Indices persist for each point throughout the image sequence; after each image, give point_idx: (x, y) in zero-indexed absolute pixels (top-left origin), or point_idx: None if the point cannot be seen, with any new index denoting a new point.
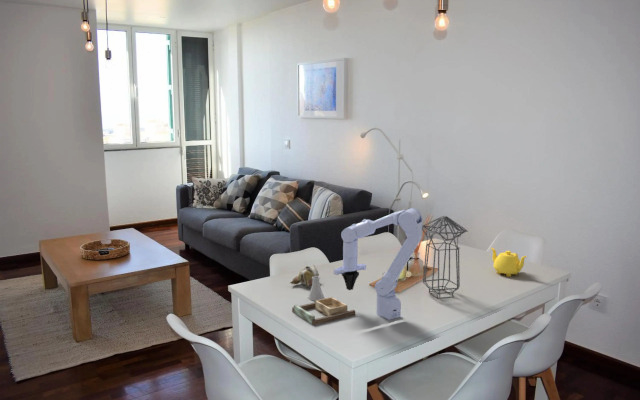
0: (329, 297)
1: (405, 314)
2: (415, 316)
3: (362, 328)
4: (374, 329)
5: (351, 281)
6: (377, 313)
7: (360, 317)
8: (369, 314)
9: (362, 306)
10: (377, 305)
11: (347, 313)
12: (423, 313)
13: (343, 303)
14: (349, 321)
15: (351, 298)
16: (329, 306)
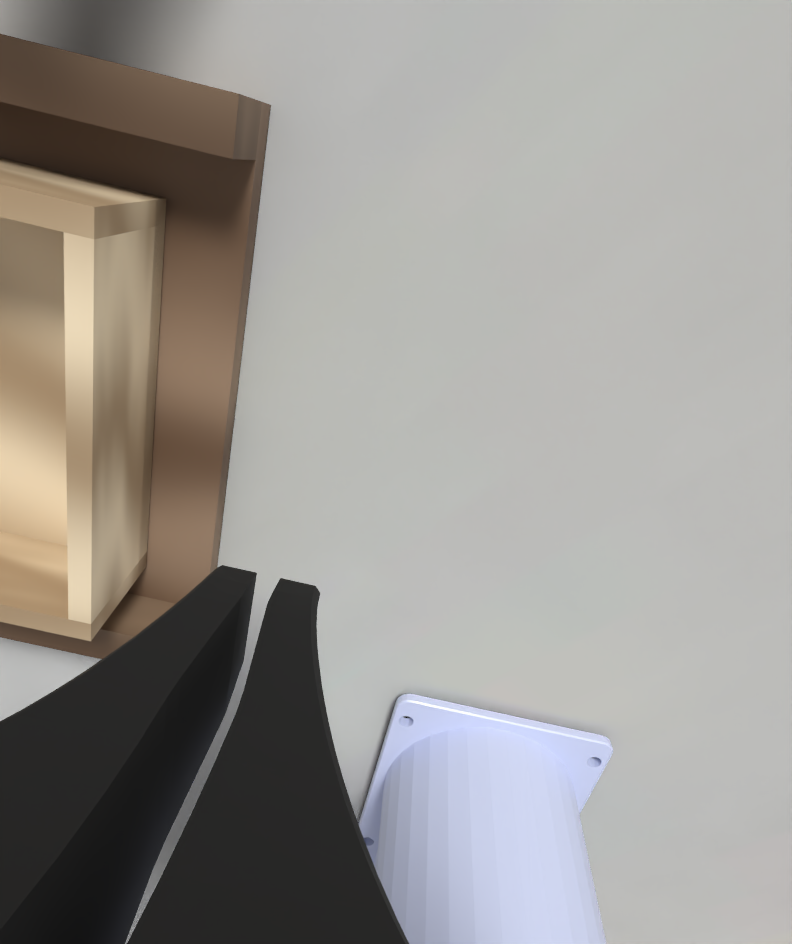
0: (36, 193)
1: (631, 868)
2: (642, 925)
3: None
4: (163, 847)
5: (136, 896)
6: (390, 783)
7: (251, 658)
8: (386, 675)
9: (539, 491)
10: (381, 871)
11: (69, 643)
12: (753, 939)
13: (84, 565)
14: None
15: (745, 138)
16: (54, 263)
